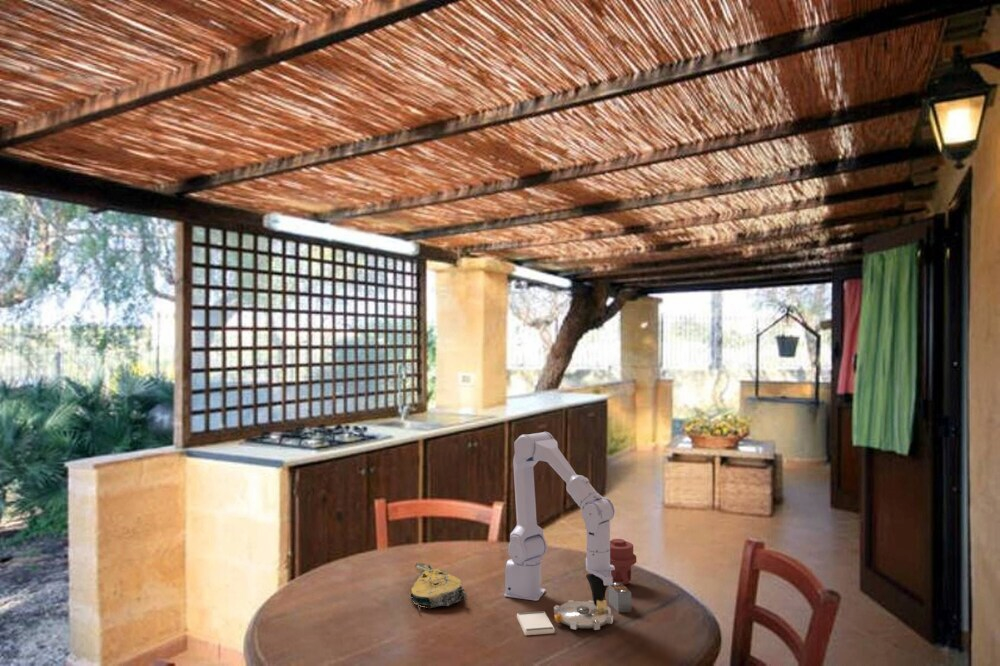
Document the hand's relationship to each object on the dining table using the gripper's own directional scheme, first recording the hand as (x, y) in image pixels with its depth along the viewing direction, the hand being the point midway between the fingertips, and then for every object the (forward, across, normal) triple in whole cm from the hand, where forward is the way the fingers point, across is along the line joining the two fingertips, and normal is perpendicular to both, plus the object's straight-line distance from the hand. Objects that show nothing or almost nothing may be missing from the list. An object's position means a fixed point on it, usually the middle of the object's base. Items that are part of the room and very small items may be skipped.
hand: (598, 604), depth 155 cm
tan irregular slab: (+4, +26, +38) cm, 46 cm away
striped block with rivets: (+4, +7, -8) cm, 11 cm away
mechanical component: (+4, +22, -14) cm, 26 cm away
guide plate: (+4, 0, +16) cm, 17 cm away
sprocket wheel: (+4, 0, +4) cm, 6 cm away
